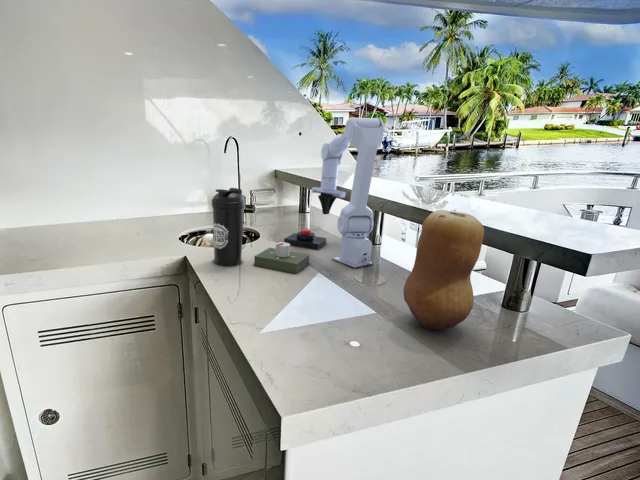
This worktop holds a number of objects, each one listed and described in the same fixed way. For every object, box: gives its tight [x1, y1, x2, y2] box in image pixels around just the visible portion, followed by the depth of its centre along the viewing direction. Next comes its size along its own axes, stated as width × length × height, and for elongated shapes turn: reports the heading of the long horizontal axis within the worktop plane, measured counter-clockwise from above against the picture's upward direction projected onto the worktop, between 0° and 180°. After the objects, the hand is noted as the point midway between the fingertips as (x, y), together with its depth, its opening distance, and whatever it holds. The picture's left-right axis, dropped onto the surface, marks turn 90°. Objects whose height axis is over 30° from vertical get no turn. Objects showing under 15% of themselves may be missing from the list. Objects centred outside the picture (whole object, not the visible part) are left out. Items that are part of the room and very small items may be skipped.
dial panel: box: [253, 247, 310, 274], centre depth 119 cm, size 14×11×3 cm
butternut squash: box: [403, 209, 485, 331], centre depth 79 cm, size 14×13×25 cm
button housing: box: [283, 231, 327, 250], centre depth 142 cm, size 13×10×4 cm
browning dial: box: [275, 241, 291, 257], centre depth 118 cm, size 4×4×4 cm
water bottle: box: [211, 187, 246, 267], centre depth 117 cm, size 10×10×23 cm
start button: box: [300, 228, 312, 235], centre depth 141 cm, size 4×4×2 cm
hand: (325, 213), depth 145 cm, fingers closed
